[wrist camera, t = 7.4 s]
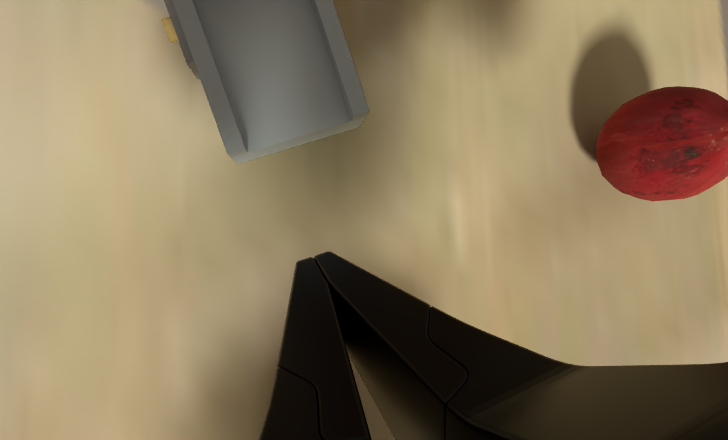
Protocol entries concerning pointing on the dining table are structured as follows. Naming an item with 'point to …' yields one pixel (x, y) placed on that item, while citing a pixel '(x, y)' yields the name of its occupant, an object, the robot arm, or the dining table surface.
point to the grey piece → (269, 70)
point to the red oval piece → (666, 144)
